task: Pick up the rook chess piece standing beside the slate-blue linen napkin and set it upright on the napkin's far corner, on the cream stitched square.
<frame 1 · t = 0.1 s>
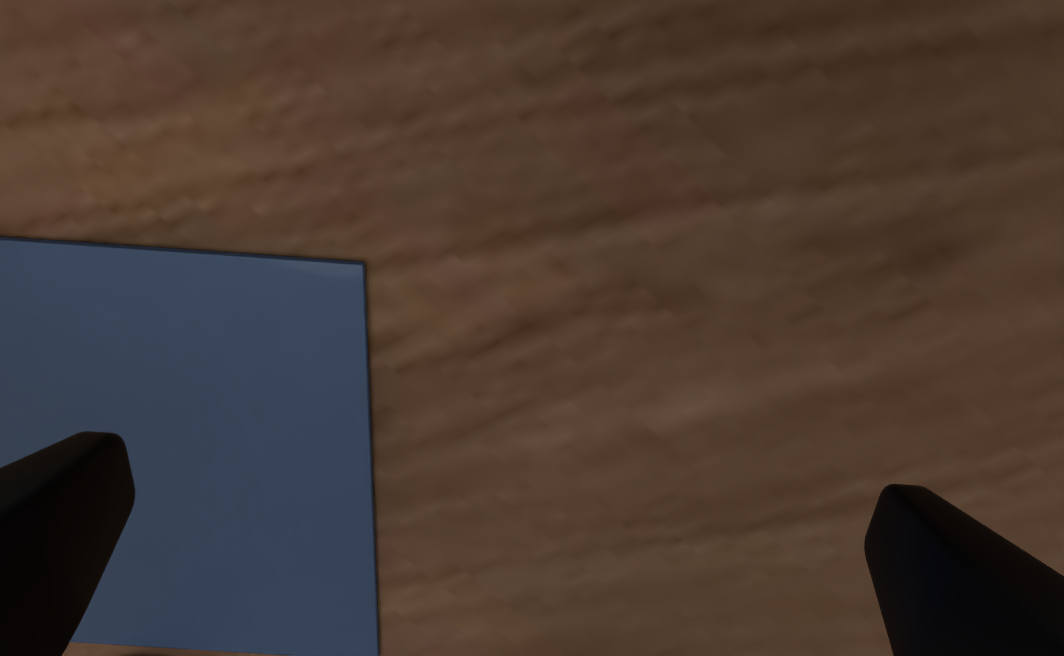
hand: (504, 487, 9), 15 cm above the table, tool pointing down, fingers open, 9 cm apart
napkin: (101, 469, 27), on the table
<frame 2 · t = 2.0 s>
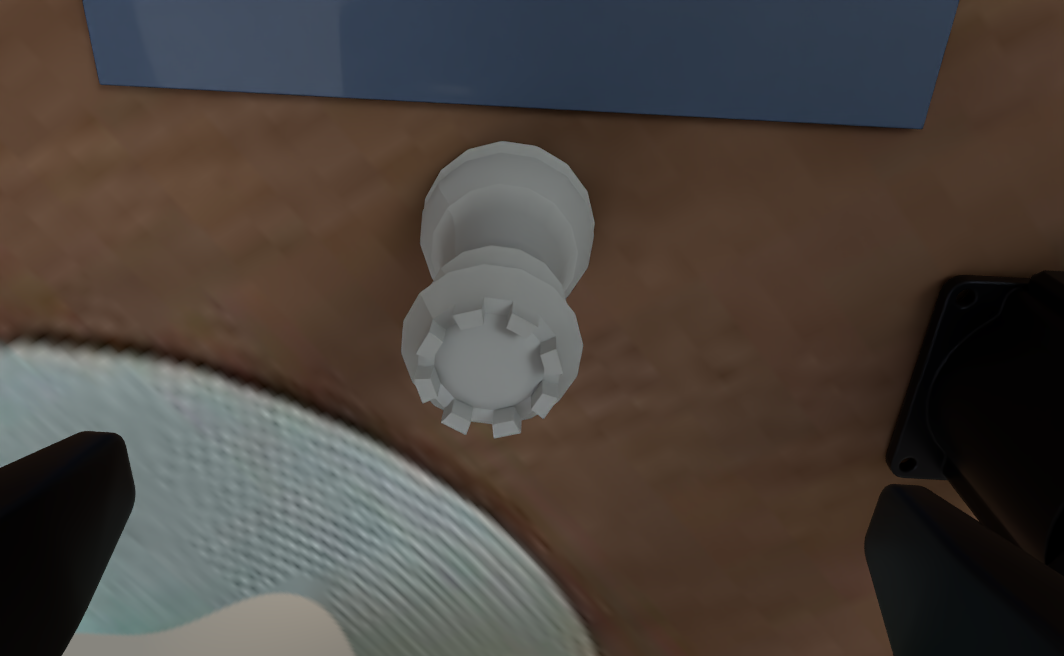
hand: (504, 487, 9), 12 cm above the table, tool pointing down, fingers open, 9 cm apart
rook chess piece: (509, 219, 20), on the table
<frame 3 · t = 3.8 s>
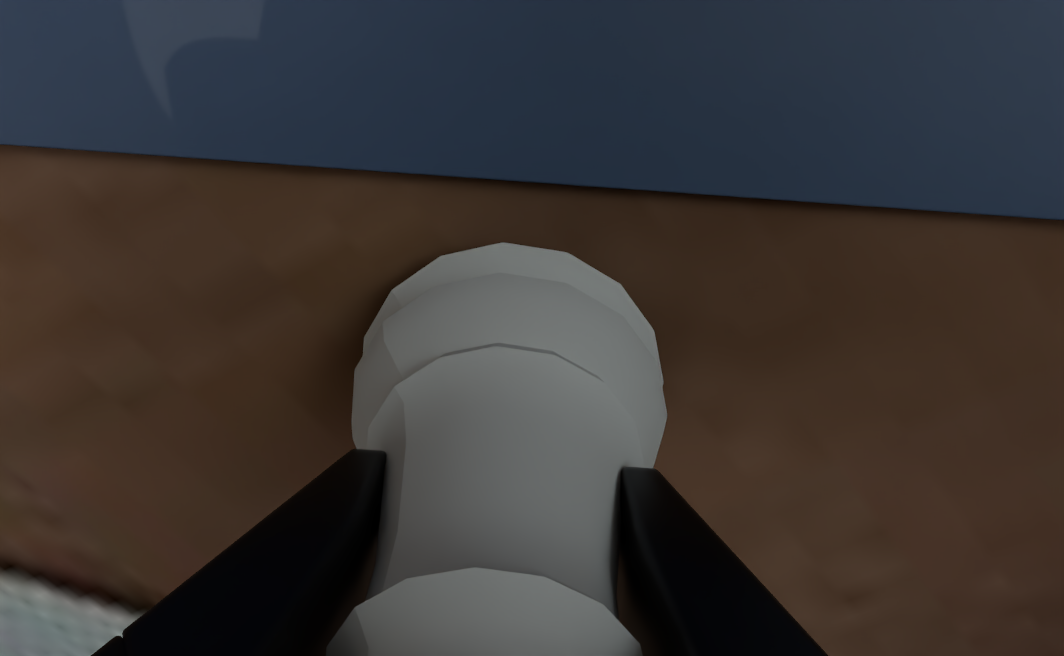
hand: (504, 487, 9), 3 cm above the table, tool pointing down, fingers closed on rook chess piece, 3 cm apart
rook chess piece: (513, 362, 12), on the table, touching gripper
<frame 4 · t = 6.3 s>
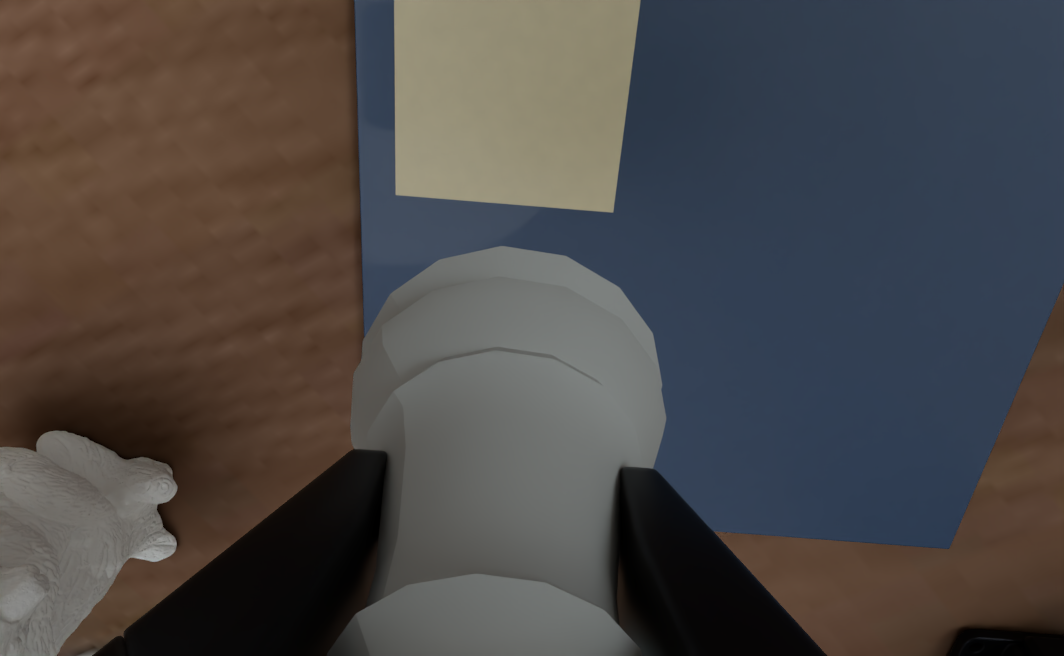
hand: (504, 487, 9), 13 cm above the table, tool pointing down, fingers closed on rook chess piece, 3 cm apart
rook chess piece: (511, 365, 12), point 10 cm above the table, touching gripper
white bunny statuette: (112, 476, 26), on the table
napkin: (706, 283, 22), on the table
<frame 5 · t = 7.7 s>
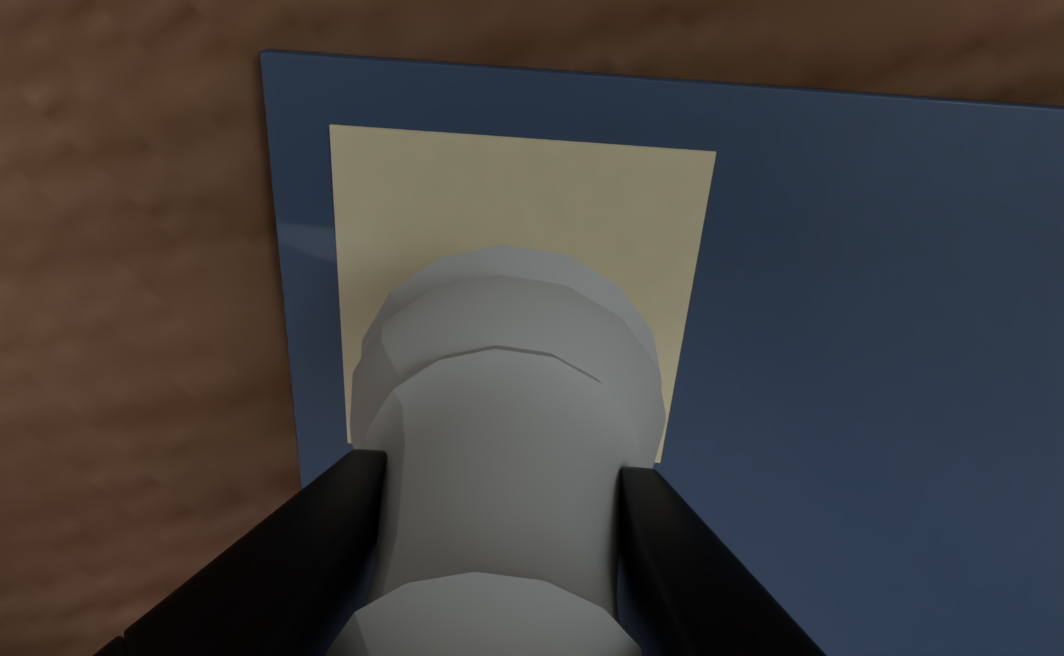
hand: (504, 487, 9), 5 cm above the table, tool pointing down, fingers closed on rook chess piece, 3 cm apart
rook chess piece: (511, 364, 11), point 2 cm above the table, touching gripper
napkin: (786, 538, 16), on the table
when the fingers open (3 cm above the table, at t = 8.7 s): rook chess piece stays where it is, resting on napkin.
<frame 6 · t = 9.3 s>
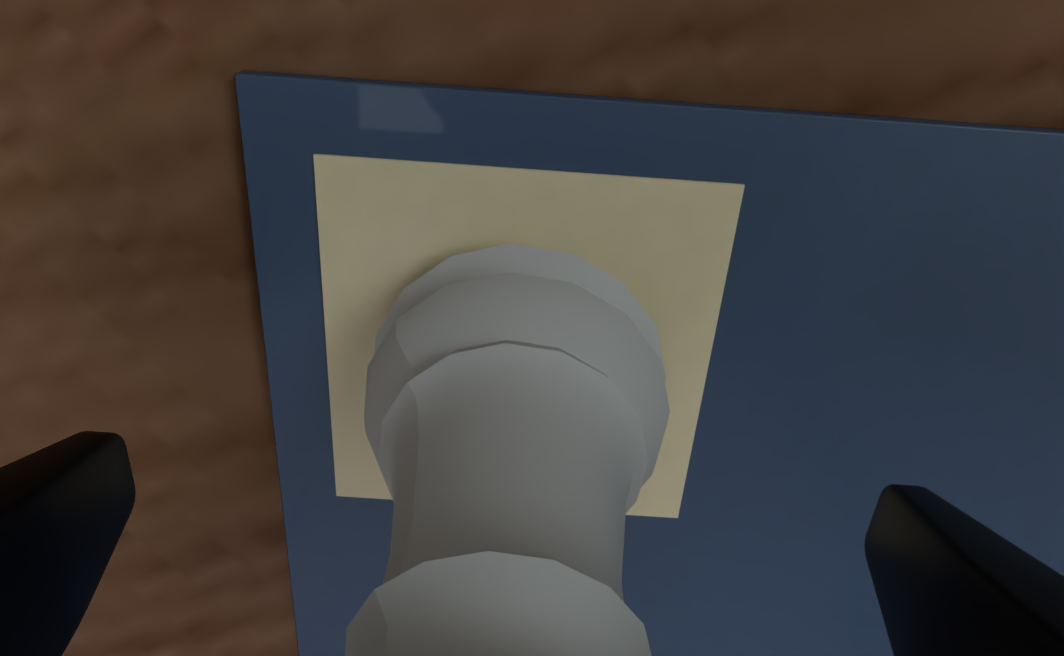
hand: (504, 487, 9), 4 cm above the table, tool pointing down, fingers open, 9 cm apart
rook chess piece: (519, 359, 12), resting on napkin
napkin: (813, 596, 14), on the table
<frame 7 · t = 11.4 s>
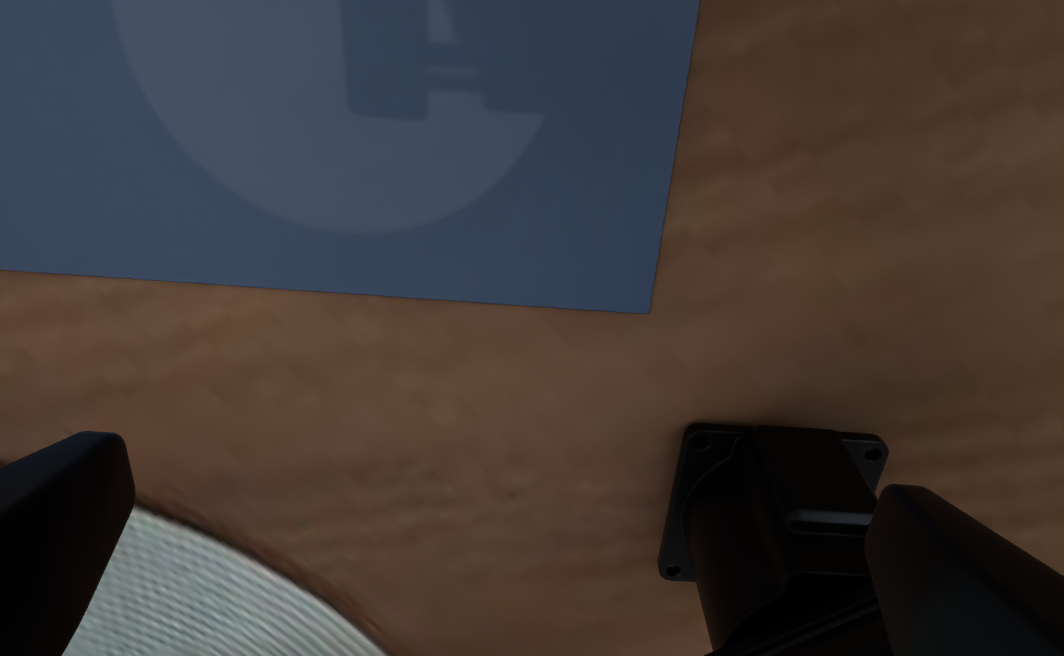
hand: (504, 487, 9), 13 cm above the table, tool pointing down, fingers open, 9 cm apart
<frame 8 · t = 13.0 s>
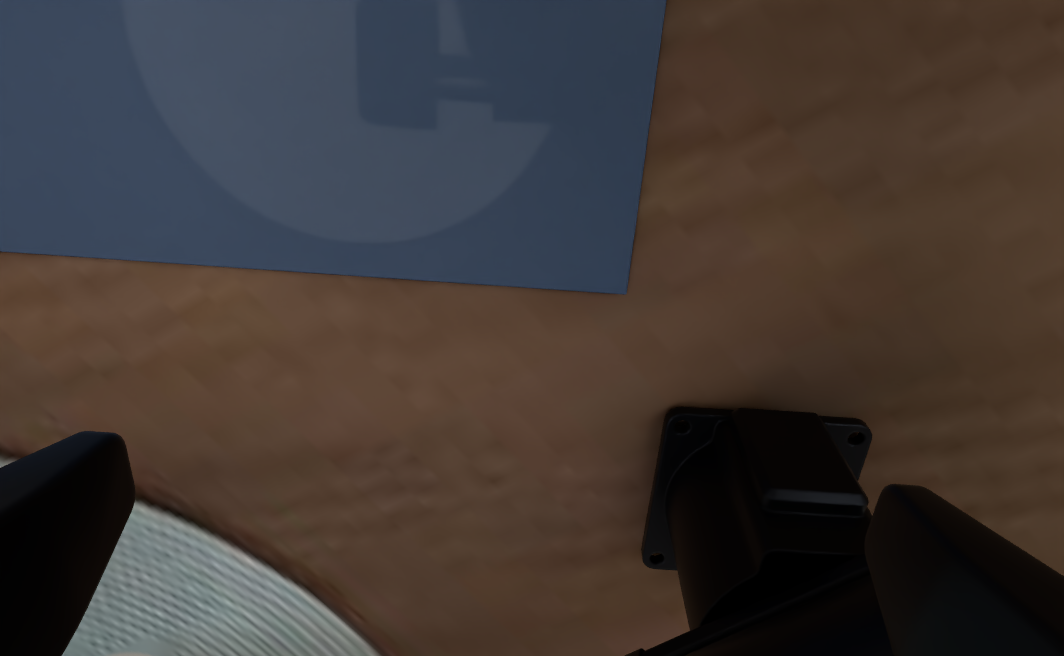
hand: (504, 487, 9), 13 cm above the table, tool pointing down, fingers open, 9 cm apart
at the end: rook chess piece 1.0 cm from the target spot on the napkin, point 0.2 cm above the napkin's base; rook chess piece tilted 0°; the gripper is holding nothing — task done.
